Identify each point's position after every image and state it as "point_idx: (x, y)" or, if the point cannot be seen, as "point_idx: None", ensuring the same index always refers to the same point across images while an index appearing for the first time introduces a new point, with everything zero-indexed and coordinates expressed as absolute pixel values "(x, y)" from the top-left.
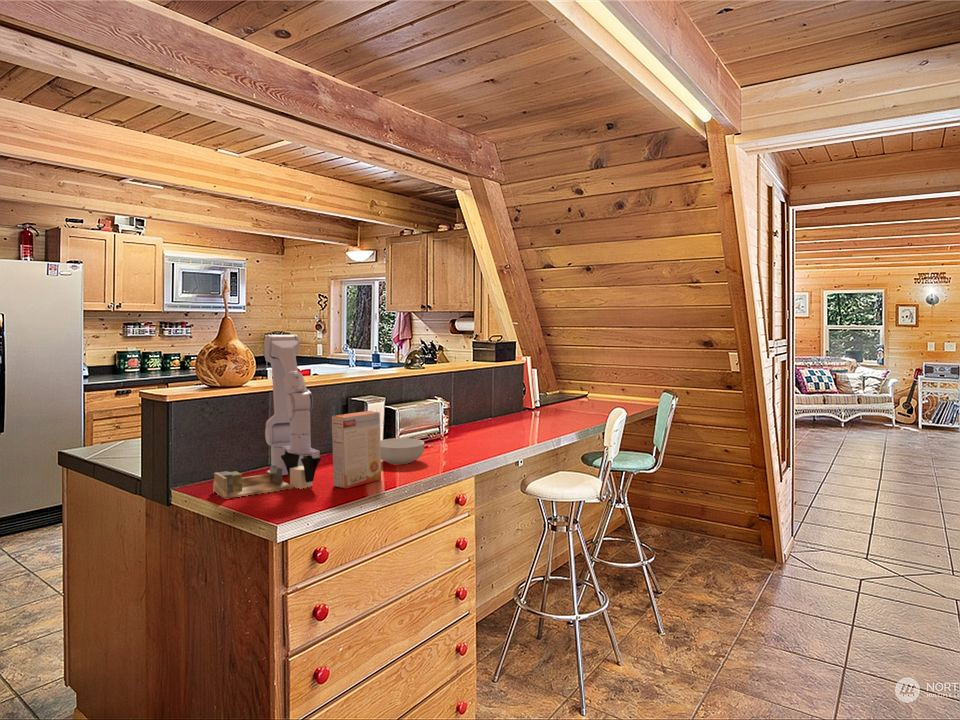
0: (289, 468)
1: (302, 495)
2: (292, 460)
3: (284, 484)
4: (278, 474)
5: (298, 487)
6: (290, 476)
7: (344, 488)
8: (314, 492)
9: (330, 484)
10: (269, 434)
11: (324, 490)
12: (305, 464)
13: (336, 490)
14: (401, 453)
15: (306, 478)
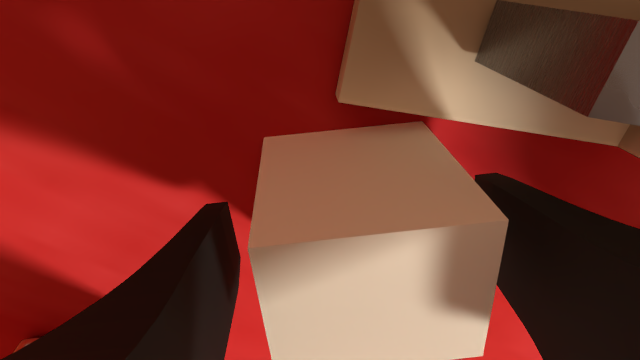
0: (548, 232)
1: (10, 12)
2: (609, 357)
3: (456, 78)
4: (560, 35)
5: (302, 137)
6: (450, 164)
7: (36, 338)
8: (67, 154)
9: (234, 333)
10: None
11: (87, 237)
12: (54, 350)
13: (32, 288)
14: None
15: (194, 219)
